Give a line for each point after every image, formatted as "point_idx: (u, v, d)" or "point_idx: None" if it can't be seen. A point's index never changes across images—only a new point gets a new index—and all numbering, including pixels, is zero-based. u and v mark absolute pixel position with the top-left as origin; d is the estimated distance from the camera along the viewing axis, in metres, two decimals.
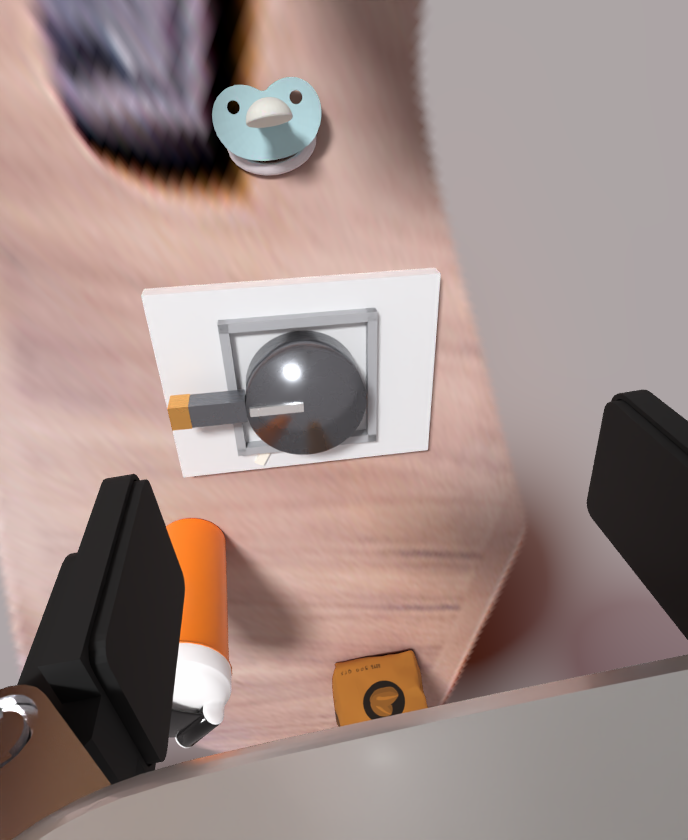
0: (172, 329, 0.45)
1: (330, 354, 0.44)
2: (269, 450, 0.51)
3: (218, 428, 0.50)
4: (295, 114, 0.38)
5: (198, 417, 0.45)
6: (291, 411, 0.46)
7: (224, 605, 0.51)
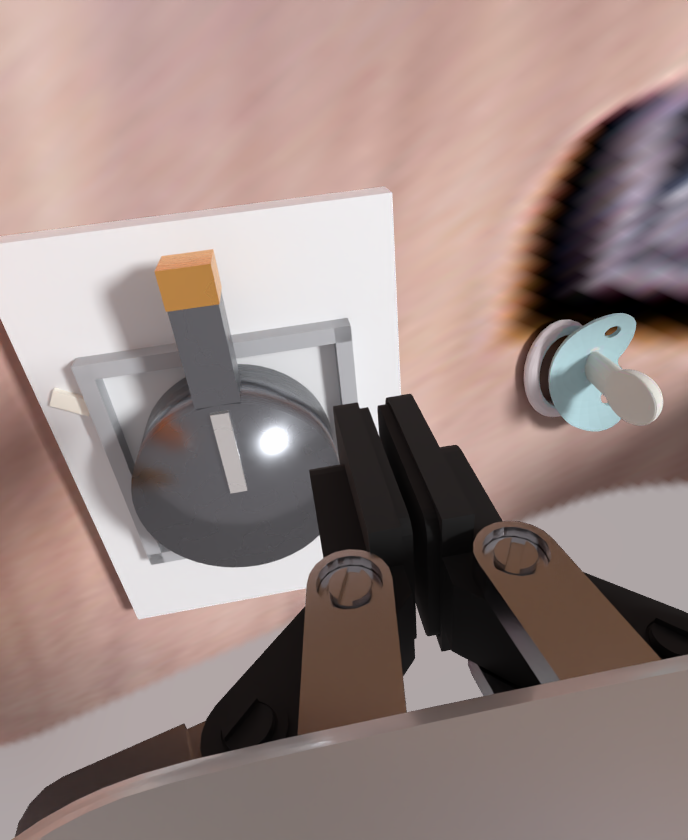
0: (329, 243, 0.25)
1: None
2: (97, 419, 0.27)
3: (122, 320, 0.25)
4: (590, 398, 0.33)
5: (194, 323, 0.22)
6: (228, 475, 0.26)
7: None
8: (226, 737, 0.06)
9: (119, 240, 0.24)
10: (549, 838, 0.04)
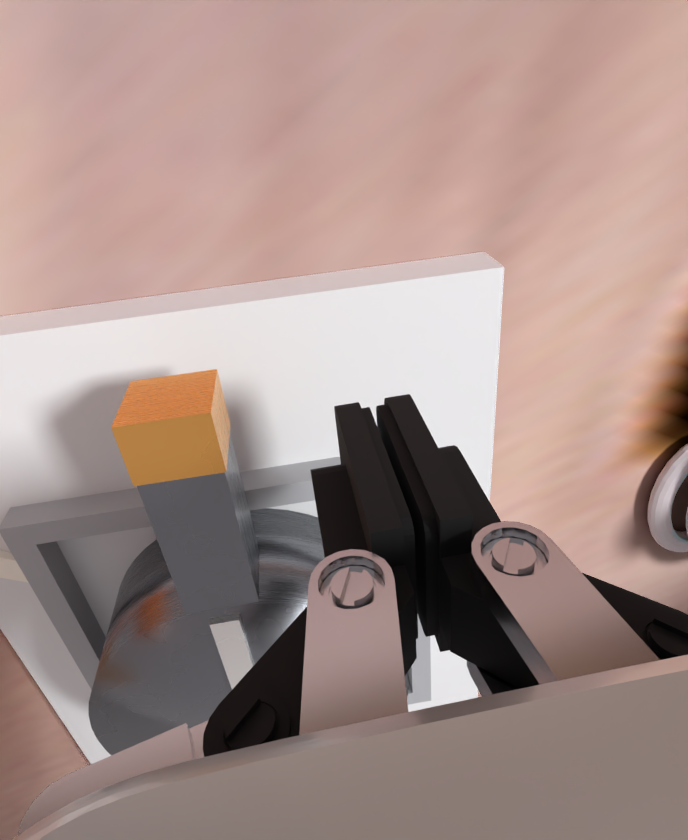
0: (400, 342, 0.16)
1: None
2: (44, 593, 0.18)
3: (78, 456, 0.17)
4: None
5: (183, 499, 0.13)
6: None
7: None
8: (228, 737, 0.06)
9: (66, 344, 0.15)
10: (549, 838, 0.04)
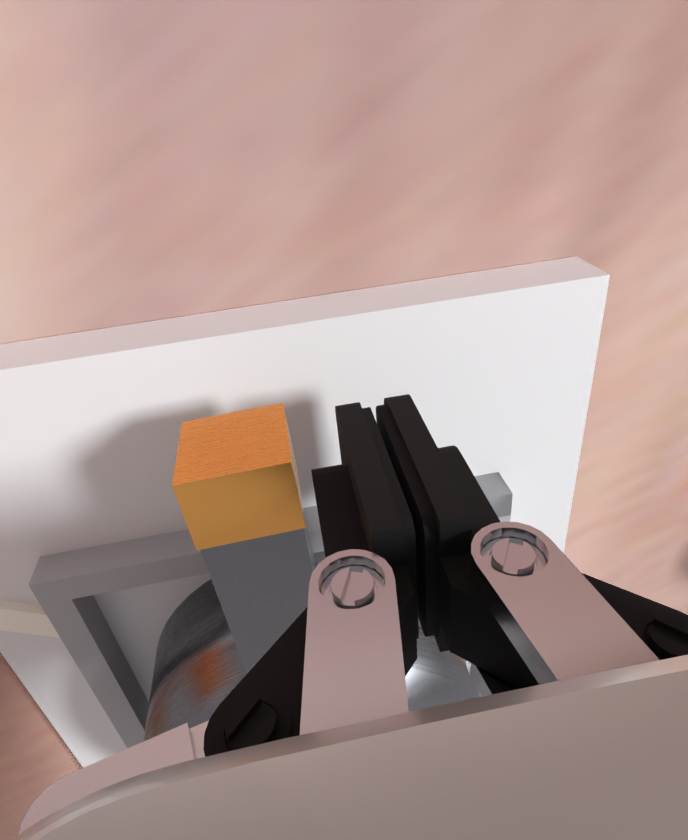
0: (488, 361, 0.14)
1: None
2: (78, 651, 0.16)
3: (120, 498, 0.14)
4: None
5: (254, 561, 0.11)
6: None
7: None
8: (230, 737, 0.06)
9: (111, 373, 0.13)
10: (549, 838, 0.04)
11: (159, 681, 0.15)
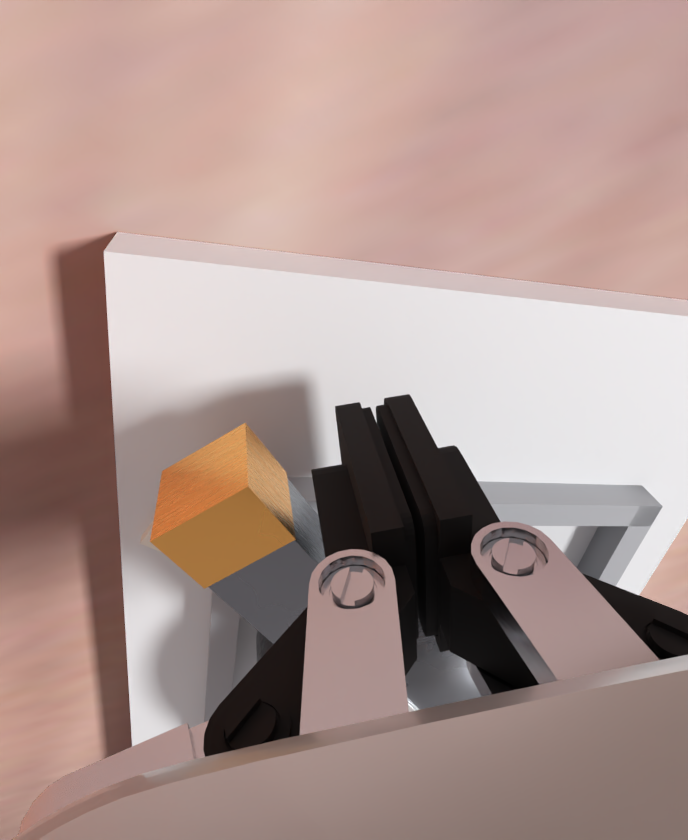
0: (684, 381, 0.15)
1: None
2: None
3: (324, 432, 0.14)
4: None
5: (264, 582, 0.11)
6: None
7: None
8: (229, 736, 0.06)
9: (386, 303, 0.13)
10: (549, 838, 0.04)
11: None
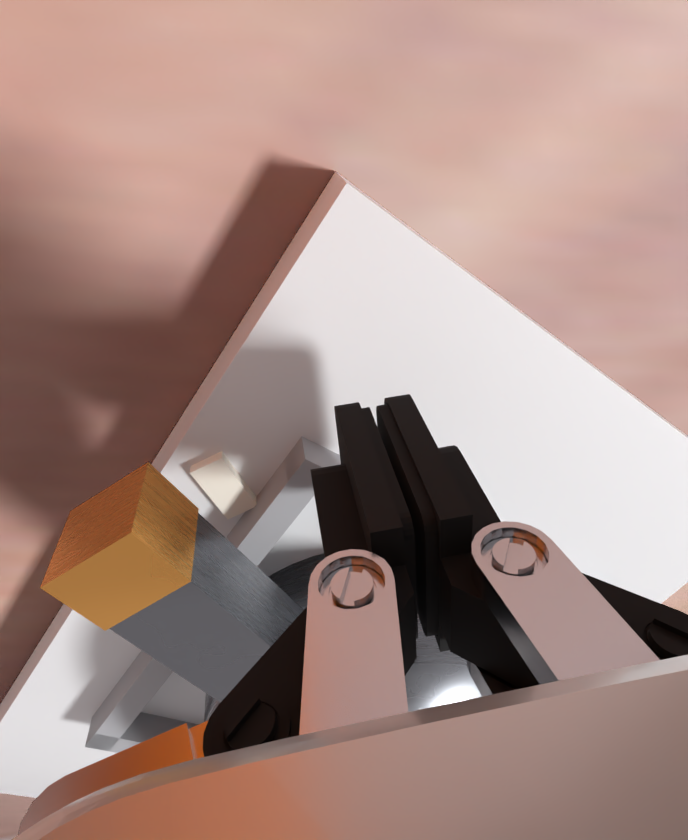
0: None
1: None
2: (252, 543, 0.14)
3: None
4: None
5: (166, 622, 0.11)
6: None
7: None
8: (229, 737, 0.06)
9: (531, 347, 0.14)
10: (549, 838, 0.04)
11: None
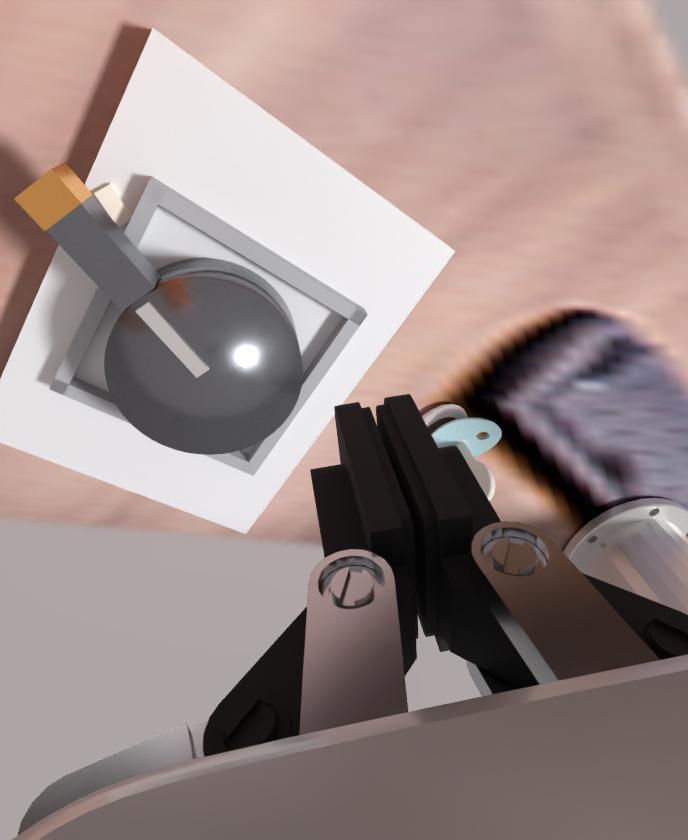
0: (395, 250, 0.31)
1: (301, 359, 0.29)
2: (129, 235, 0.27)
3: (214, 181, 0.28)
4: None
5: (73, 231, 0.24)
6: (184, 361, 0.28)
7: None
8: (229, 737, 0.06)
9: (267, 125, 0.27)
10: (549, 838, 0.04)
11: None
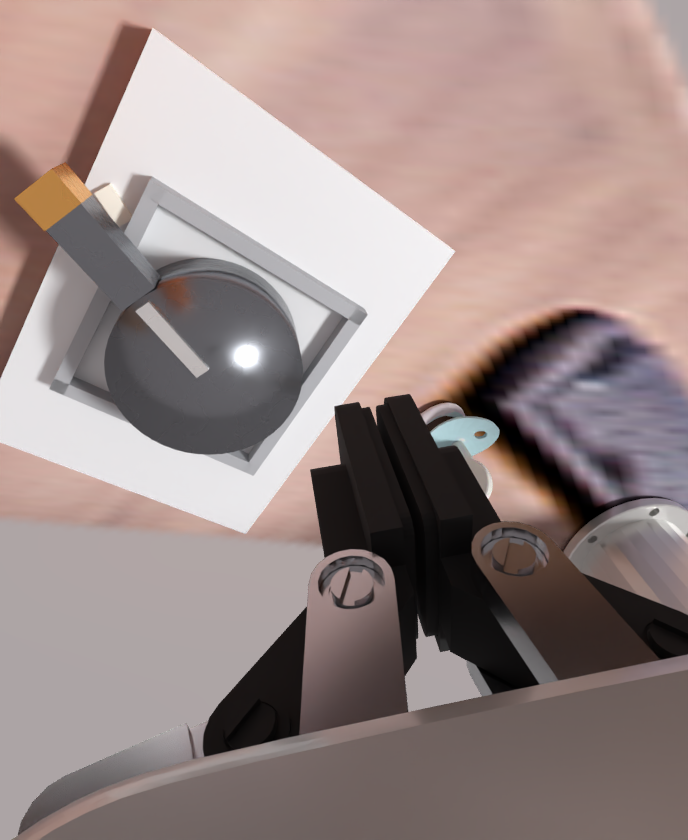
0: (395, 250, 0.31)
1: (301, 359, 0.29)
2: (129, 235, 0.27)
3: (215, 181, 0.28)
4: None
5: (73, 231, 0.24)
6: (184, 361, 0.28)
7: None
8: (228, 737, 0.06)
9: (267, 126, 0.27)
10: (549, 838, 0.04)
11: None
